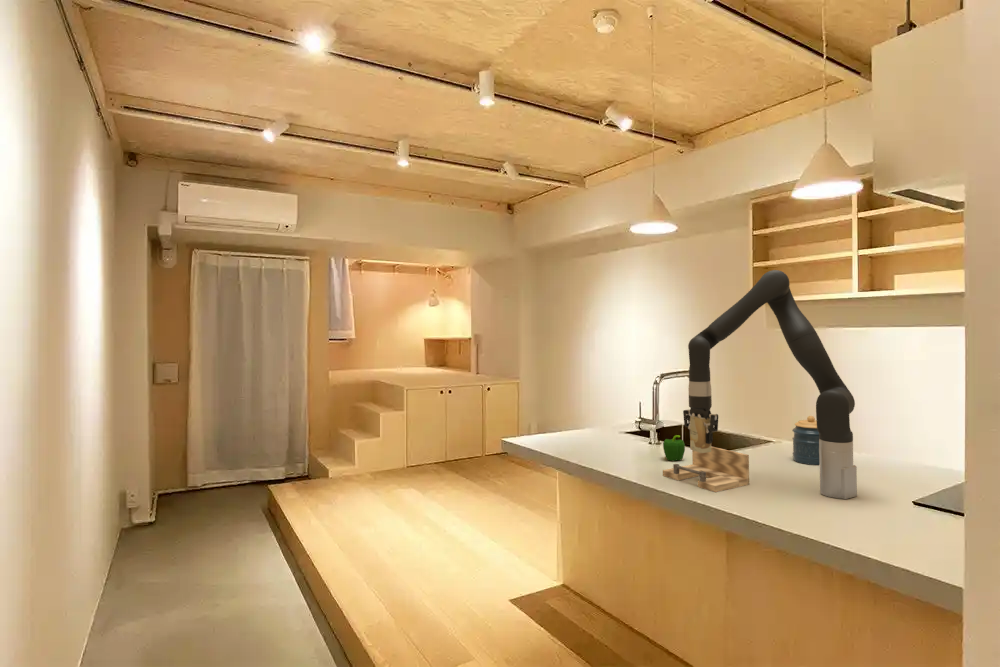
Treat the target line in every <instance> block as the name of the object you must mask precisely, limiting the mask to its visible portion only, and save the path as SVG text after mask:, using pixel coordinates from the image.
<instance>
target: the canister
mask: <svg viewBox="0 0 1000 667" xmlns="http://www.w3.org/2000/svg"><path fill="white" fill-rule="evenodd" d="M794 426H795V427H794V428H792V429H791V430H792V432H793V437H792V457H793V461H795V462H797V463H799V464H803V465H811V466H812V465H815V466H820V462H819V432H818V430H817V421H816V419H815V416H814V415H808V416H807V418H806V419H801V420H798V421H797V422H795V423H794Z"/></svg>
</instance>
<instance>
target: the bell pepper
mask: <svg viewBox="0 0 1000 667" xmlns="http://www.w3.org/2000/svg"><path fill="white" fill-rule="evenodd" d="M676 438H678V439H676ZM679 438H681V435H679V434H678V435H677V434H675V435H674V436H673V438H671V439H669V438H665V440H664V441H663V443H662V448H663V452H664V456H665V459H666V460H667V461H671V462H672V461H673V462H674V461H681V460H682V459H683V458H684V455H685V451H686V448H685V447H686V444H685V441H684V440H683V439H679Z"/></svg>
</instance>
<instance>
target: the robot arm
mask: <svg viewBox="0 0 1000 667" xmlns="http://www.w3.org/2000/svg"><path fill="white" fill-rule="evenodd" d="M790 285H791V284H790V278H789V276H788V275H787V274H786V273H785V272H784V271H782V270H777V269H772V270H769V271H767V272H765V273H764V274H763V275H762V276H761V277H760V279H759V280H757V281H756V283H755V284H754V285H753V286H752V287H751V289H749V290H748V292H746V294H745V295H744V296H742V297H741V299H739V300H738V301H737V302H736V303H734V304H733V305H732V306H731V307H729V308H728V309H726V310H725V311H724V312H723V313H722V314H721V315H720V316H718V317H717V318H716V319H715V320H713V321H712V322H711V323H710V324H709V325H708V326H707V327H706V328H705V329H703V330H702V331H700V332H699V333H698V334H696V335H694V337H692V338H690V340H689V341H688V345H687V347H688V358H689V361H688V363H689V366H688V387H687V388H688V408H690V409H685V410H682V412H683V413H682V414H683V423H684V424H683V425H684V428H687V429H688V430H689V431H688V432H689V438H690V416H693V417H695V416H698V417H699V418H705V419H706V420H707V418H710V423H708V424H706V423H705V422H704V427H705V431H706V444H711V445H712V443H713V438H714V437H713V436H714V434H713V433H715V432H718V431H719V429H718V428H719V414H717V413H715V414H714V413H712V411H711V408H712V404H713V403H712V402H713V401H712V384H711V368H710V364H711V363H710V360H711V350H712V349H713V348H714V347H715V346H716V345H718V344H720V342H723V341H724V340H726V339H727V338H728V337H729V336H731V335H732V334H733V333H735V332H736V330H738V329H739V328H740V327H741V326H742V325H744V323H745V322H746V321H747V320H748V319H749V318H751V316H752V315H754V313H755V312H756V311H757V310H759V309H760V308H761V307H763V306H764V305H766V304H768V306H769V308H770V309H771V311H772V312H773V314H774V315H775V318H776V320H777V322H778V326H779V327H780V329H781V333H782V335H783V338H784V340H785V342H786V344H787V346H788V348H789V350H790V352H791V354H792V355H793V357H794V358H795V360H796V361H797V362H798V363H799V365H800V366H801V367H802V368H803V370H805V371H806V372H807V373H808V374H809V375H810V377H811V378H812V380H813V382H814V383H815V386H816V387H817V390H818V392H819V395H818V396H817V398H816V402H815V417H816V419H815V420H816V421H817V430H818V432H819V462H820V465H819V492H820V494H821V495H823V496H825V497H829V498H833V499H836V498H837V499H842V500H848V499H851V498H855V497H858V483H857V482H858V476H857V475H858V474H857V472H858V471H857V469H858V468H857V465H855V464H854V433H853V431H852V430H851V424H850V422H851V421H850V414H852V412H853V411H854V409H855V407H856V406H855V405H856V403H855V398H854V396H853V394H852V392H851V391H850V390H849V388H848V387H847V385H846V384H845V383H844V381H843V380H842V378H841V376H840V375H839V373H838V371H837V370H836V368H835V366H834V364H833V362H832V360H831V358H830V355H829V353H828V352H827V349H826V348H825V346H824V344H823V342H822V339H821V338H820V336H819V334H818V333H817V331H816V329H815V327H814V326H813V324H812V323H811V322H810V321H809V319H808V318H807V317H806V315H805V314H804V313H803V312H802V311H801V310H800V308H799V306H798V305H797V302H796V300H795V298H794V296H793V293H792V291H791V290H792V289H791V287H790ZM708 426H710V429H708Z"/></svg>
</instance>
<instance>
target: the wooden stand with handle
mask: <svg viewBox="0 0 1000 667" xmlns="http://www.w3.org/2000/svg"><path fill="white" fill-rule="evenodd" d="M691 454H692V464H687V465H683V466H682V465H680V464H679V463H674V464H673V466H672V467H671V468H667V469H662V476H663V477H667V478H670V479H672V480H676V481H681V480H683V481H684V480H687V479H692V478H696V477H699V480H697V487H699V488H701V489H705V490H707V491H711V492H714V493H717V492H722V491H726V490H731V489H735V488H741V487H743V486H744V487H745V486H748V485H750V460H749V459H750V456H749V454H746V453H741V452H738V451H733V450H730V449H729V450H727V449H725V448H720V447H715V446H712V445H711V452H707V453H700V452H697V451H694V450H691Z"/></svg>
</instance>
